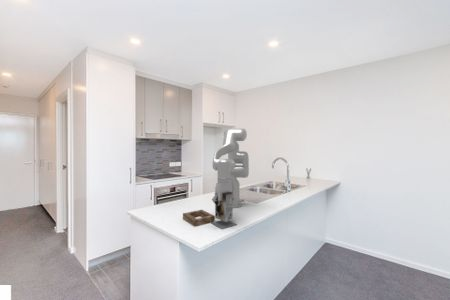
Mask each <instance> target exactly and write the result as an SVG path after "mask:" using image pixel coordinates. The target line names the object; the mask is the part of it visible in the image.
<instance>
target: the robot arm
mask: <svg viewBox="0 0 450 300" xmlns="http://www.w3.org/2000/svg"><path fill="white" fill-rule="evenodd" d="M247 132H248V131H247V130H246V129H245V128H228V129H224V131H223V141H222V145H221V146H220V147H219V148H218V149H217V150H216V151H215V153H214V155H213V158H212V169H213V170H214V171H217V183H216V184H215V186H214V187H215V188H214V189H215V190H214V196H213V197H212V199H211V201H212V202H213V203H214V205H215V204H216V210H217V212H221V208H220V203H221V201H222V193H227V192H232V193H233V209H234V208H240V207H242V203H243V202H245V199H242V198H240V196H241V195H240V193H241V192H240V188H241V187H240V186H241V184H240V181H239V179H240V178H241V179H242V178H248V177H249V171H250V167H249V166H250V165H249V164H250V163H249V162H250V161H249V160H250V159H249V154H248V152H247V151H240V144H239V143H238V142H244V141H245V140H246V139H247ZM225 155H227V158H221V157H223V156H225ZM237 164H240V165H237ZM238 178H239V179H238ZM217 197H218V198H217ZM215 199H216V200H217V201H216V200H215ZM218 201H219V202H218Z"/></svg>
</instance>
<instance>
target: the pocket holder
mask: <svg viewBox="0 0 450 300" xmlns="http://www.w3.org/2000/svg"><path fill="white" fill-rule="evenodd" d="M197 217H198V218H197ZM182 219H183V220H184V221H185V222H187V223H188V224H190V225H191V226H193V227H198V226H202V225H207V224H210V223H211V222H215V221H216V218H215V214H211V213H210V212H207V211H205V210H203V209H197V210H193V211H188V212H183V213H182Z"/></svg>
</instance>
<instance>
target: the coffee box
mask: <svg viewBox="0 0 450 300" xmlns="http://www.w3.org/2000/svg"><path fill="white" fill-rule="evenodd" d="M217 198H218V197H217ZM215 200H216V199H215ZM216 201H217V200H216ZM218 202H219V201H218ZM214 207H215V209H214V210H215V211H214V212H215V213H214V216H215V219H217V220H218V221H219V220H222V221H225V222H226V221H229V220H230V221H232V220H234V219H233V213H234V212H233V211H234V210H233V209H234V208H233V193H232V192H227V193H222V201H221V203H220V208H221V212H217V210H216V204H215V203H214Z"/></svg>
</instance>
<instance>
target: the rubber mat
mask: <svg viewBox="0 0 450 300" xmlns="http://www.w3.org/2000/svg"><path fill="white" fill-rule="evenodd" d="M237 224H238V223H236V222H234V221H232V220H229V221H226V222H225V221H222V220H219V219H218V220H215V222H211V225H213V226H215V227H217V228H218V229H220V230H225V229H227V228H232V227H235V226H237Z"/></svg>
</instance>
